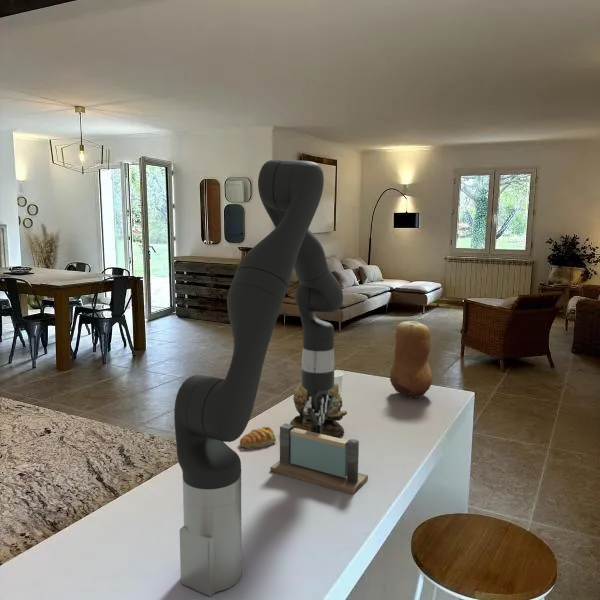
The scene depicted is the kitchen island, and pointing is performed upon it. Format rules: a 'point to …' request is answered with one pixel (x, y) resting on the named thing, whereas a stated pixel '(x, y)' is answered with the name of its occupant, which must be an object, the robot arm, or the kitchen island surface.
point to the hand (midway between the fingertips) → (316, 438)
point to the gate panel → (319, 452)
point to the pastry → (258, 438)
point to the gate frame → (314, 476)
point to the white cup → (339, 380)
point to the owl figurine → (330, 422)
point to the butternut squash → (411, 360)
